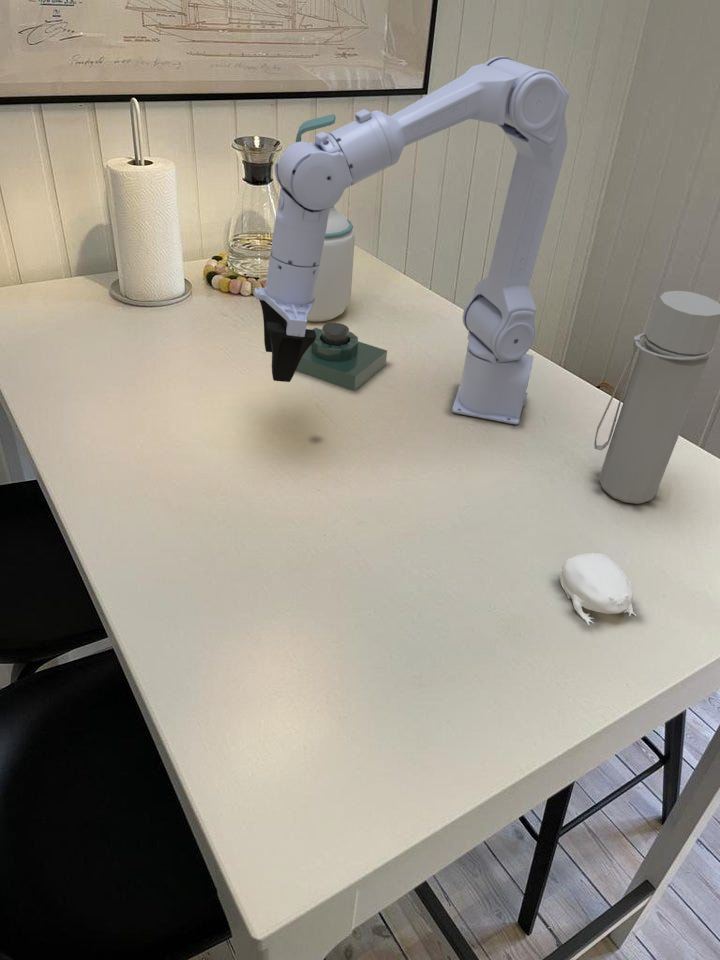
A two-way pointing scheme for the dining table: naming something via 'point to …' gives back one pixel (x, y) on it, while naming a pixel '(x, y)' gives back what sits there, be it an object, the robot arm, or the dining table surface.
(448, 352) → the dining table surface
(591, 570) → the chubby white toad
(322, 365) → the green push button box
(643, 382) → the water bottle
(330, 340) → the dark grey push button
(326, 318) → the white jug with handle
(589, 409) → the dining table surface
